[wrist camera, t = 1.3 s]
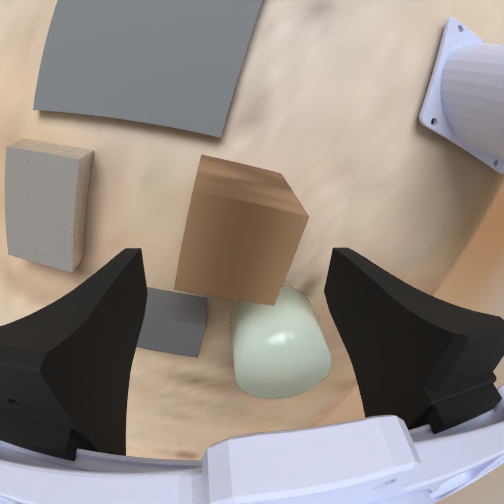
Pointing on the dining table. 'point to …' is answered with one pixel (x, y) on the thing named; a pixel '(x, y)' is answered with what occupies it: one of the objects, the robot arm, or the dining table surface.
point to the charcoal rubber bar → (173, 323)
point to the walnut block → (239, 233)
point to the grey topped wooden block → (46, 202)
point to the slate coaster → (146, 60)
